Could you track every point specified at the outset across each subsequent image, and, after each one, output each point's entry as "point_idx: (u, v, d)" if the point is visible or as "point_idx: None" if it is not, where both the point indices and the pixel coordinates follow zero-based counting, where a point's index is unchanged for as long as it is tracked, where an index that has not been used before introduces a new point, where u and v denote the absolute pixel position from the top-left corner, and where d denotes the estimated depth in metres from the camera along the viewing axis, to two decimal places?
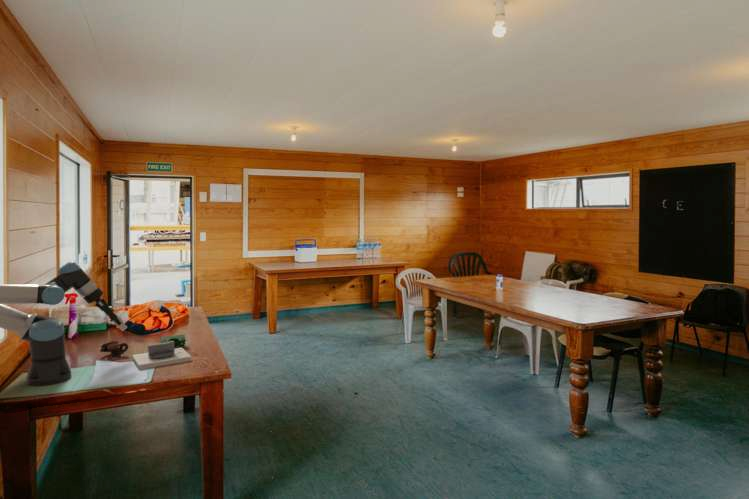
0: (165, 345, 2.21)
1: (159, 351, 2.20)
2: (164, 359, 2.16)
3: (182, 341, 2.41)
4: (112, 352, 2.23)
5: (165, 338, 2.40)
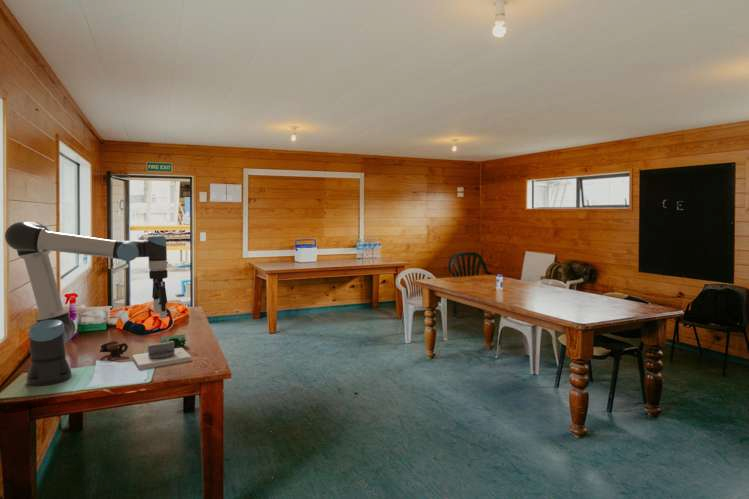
0: (165, 345, 2.21)
1: (159, 351, 2.20)
2: (164, 359, 2.16)
3: (182, 341, 2.41)
4: (111, 352, 2.23)
5: (165, 338, 2.40)
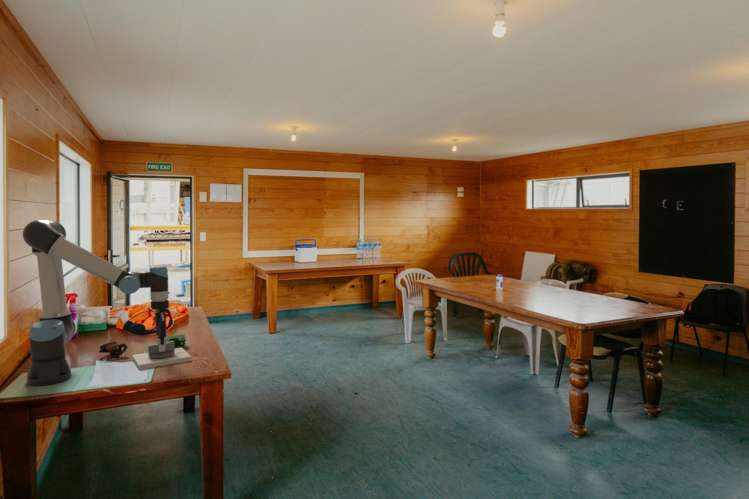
0: (165, 345, 2.21)
1: None
2: (164, 359, 2.16)
3: (182, 341, 2.41)
4: (111, 352, 2.22)
5: (165, 338, 2.40)
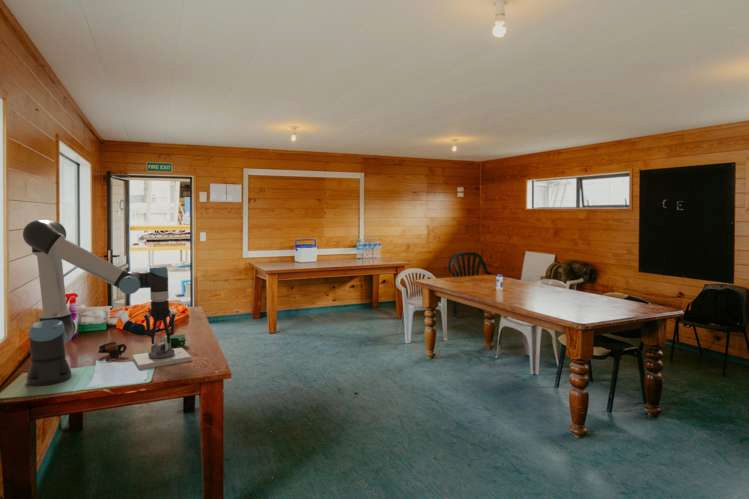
0: None
1: (162, 351, 2.20)
2: (164, 359, 2.16)
3: (182, 341, 2.41)
4: (110, 353, 2.22)
5: None
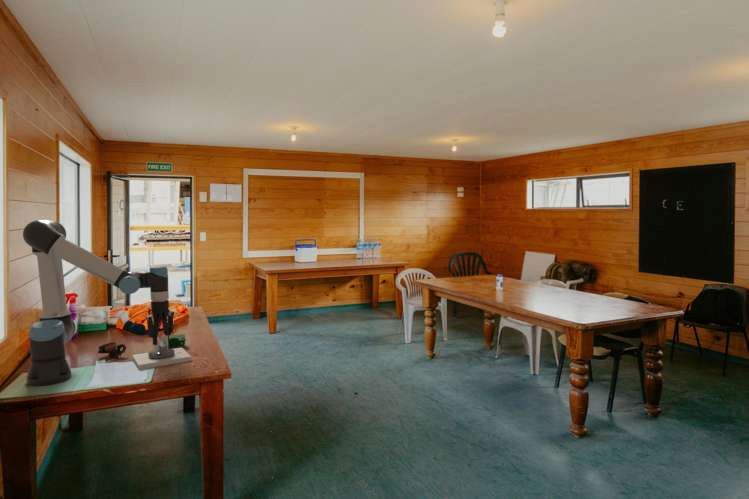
0: None
1: None
2: (164, 359, 2.16)
3: (182, 341, 2.41)
4: (110, 353, 2.21)
5: None
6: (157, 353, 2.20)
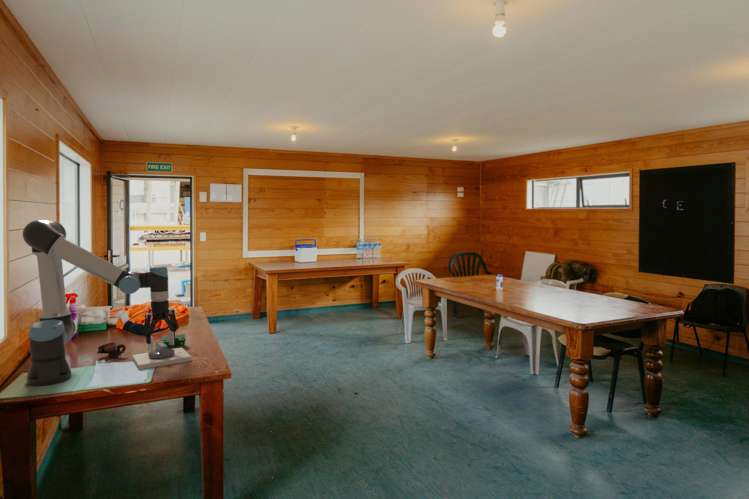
0: None
1: None
2: (164, 359, 2.16)
3: (182, 341, 2.41)
4: (109, 353, 2.21)
5: (165, 338, 2.40)
6: (157, 353, 2.20)
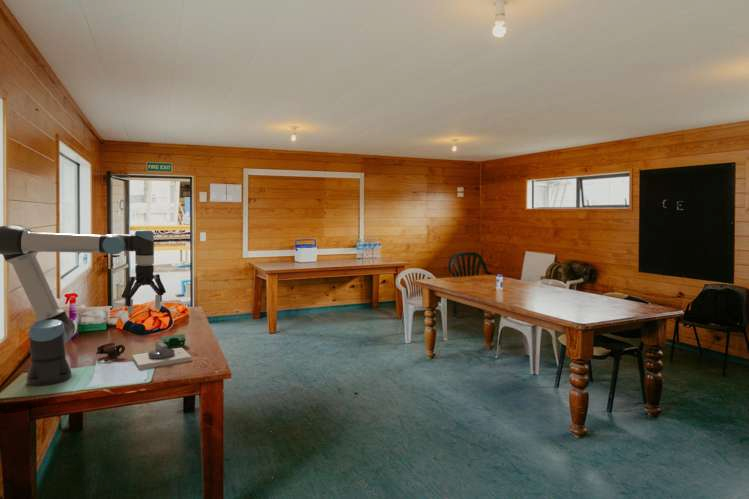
0: None
1: None
2: (164, 359, 2.16)
3: (182, 341, 2.41)
4: (108, 354, 2.20)
5: (165, 338, 2.41)
6: (157, 353, 2.20)
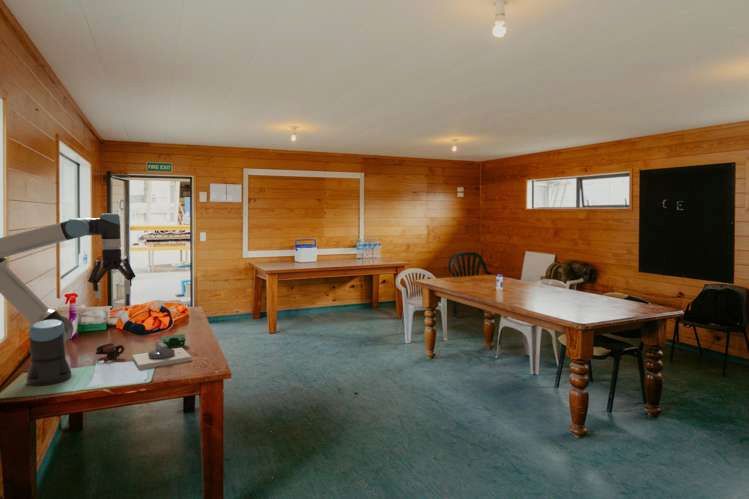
0: None
1: None
2: (164, 359, 2.16)
3: (182, 341, 2.41)
4: (108, 354, 2.20)
5: (165, 338, 2.41)
6: (157, 353, 2.20)
